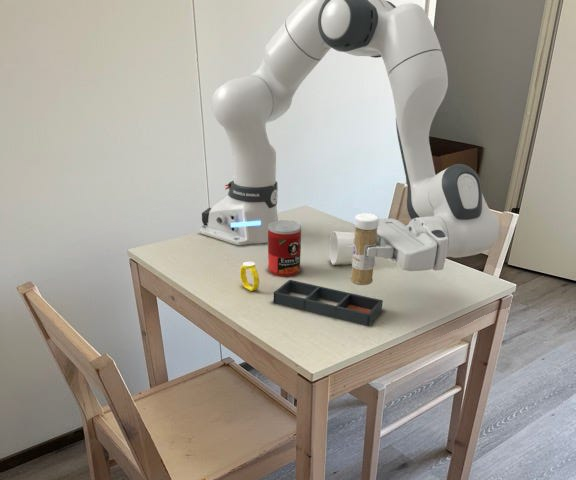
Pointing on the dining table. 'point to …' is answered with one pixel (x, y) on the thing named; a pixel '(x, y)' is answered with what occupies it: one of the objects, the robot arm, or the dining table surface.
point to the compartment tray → (339, 311)
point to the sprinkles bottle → (364, 237)
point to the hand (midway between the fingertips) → (360, 246)
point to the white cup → (341, 248)
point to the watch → (254, 273)
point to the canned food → (284, 247)
